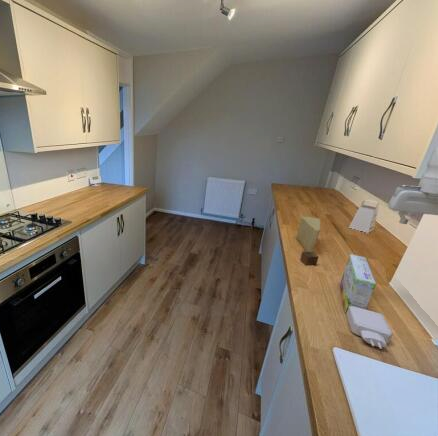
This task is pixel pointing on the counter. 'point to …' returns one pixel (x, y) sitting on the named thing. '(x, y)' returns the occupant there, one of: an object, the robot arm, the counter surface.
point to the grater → (365, 218)
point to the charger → (369, 326)
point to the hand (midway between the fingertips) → (419, 225)
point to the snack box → (356, 283)
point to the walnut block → (309, 258)
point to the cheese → (308, 232)
